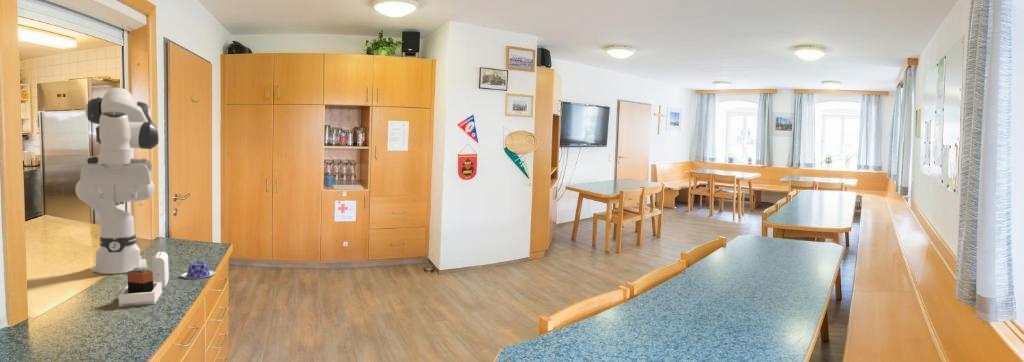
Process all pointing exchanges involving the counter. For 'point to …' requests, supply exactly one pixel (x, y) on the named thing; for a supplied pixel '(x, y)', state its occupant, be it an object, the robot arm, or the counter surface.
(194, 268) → the pudding
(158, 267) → the photo printer
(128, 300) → the trough
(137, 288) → the battery
